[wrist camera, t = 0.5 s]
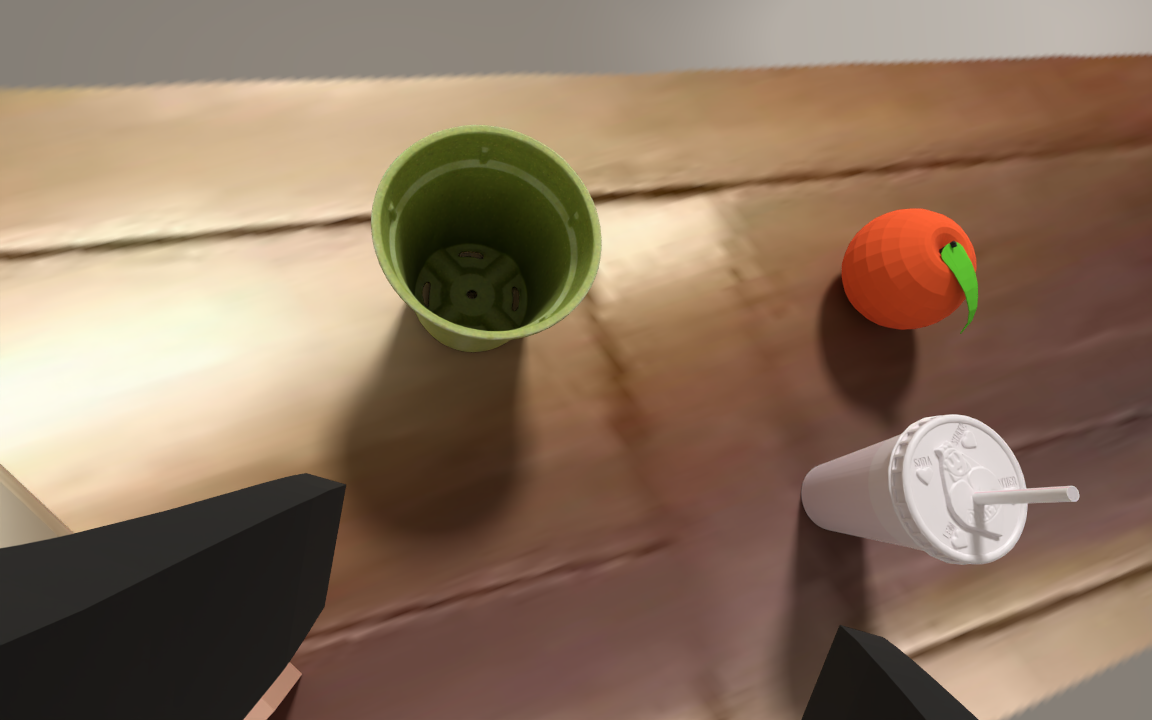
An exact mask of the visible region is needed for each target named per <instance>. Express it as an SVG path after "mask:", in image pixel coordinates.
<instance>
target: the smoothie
mask: <svg viewBox="0 0 1152 720" xmlns="http://www.w3.org/2000/svg"><path fill="white" fill-rule="evenodd" d="M801 497H802V503H803V506H804V509H805V511H806V513H807V515H808V516H809V518H810V519H811V520H812V521H813V522H814V523H815V524H816V525H818V526H819V527H821V528H823V529H826V530H830V531H835V532H840V533H844V534H849V535H854V536H858V537H863V538H868V539H872V540H877V541H882V542H886V543H891V544H896V545H900V546H905V547H910V548H913V549H918V550H923V551H925V552H926V553H928V554H929V555H930V556H932V557H934V558H937V559H939V560H942V561H944V562H946V563H952V564H962V565H965V564H985V563H989V562H993V561H995V560H997V559H999V558H1001V557H1003V556H1004V555H1005V554H1007V553H1008V552H1009V551H1010V550H1011V549H1012V548H1013V547H1014V545H1015V544H1016V543H1017V541H1018V539H1019V538H1020V536H1021V533H1022V531H1023V528H1024V525H1025V521H1026V516H1027V506H1028V503H1048V502H1074V501H1077V500H1078V499H1079V492H1078V490H1077V489H1076V488H1075V487H1074V486H1062V487H1046V488H1030V489H1026V485H1025V480H1024V476H1023V473H1022V471H1021V468H1020V466H1019V463H1018V461H1017V459H1016V458H1015V456H1014V454H1013V452H1012V451H1011V449H1010V448H1009V447H1008V445H1007V444H1006V443H1005V441H1004V440H1003V439H1002V438H1001V437H1000V436H999V435H998V434H997V433H996V432H995V431H994V430H992V429H991V428H990V427H988V426H987V425H985V424H984V423H982V422H980V421H978V420H976V419H973V418H971V417H967V416H963V415H944V416H933V417H927V418H923V419H921V420H919V421H917V422H915V423H913V424H911V425H910V426H909V427H908V428H907V429H906V430H905V431H904V432H903V433H902V434H901V435H898V436H895V437H893V438H890V439H888V440H885V441H882V442H880V443H877V444H874V445H872V446H869V447H866V448H864V449H861V450H858V451H856V452H853V453H851V454H848V455H845V456H843V457H840V458H837V459H835V460H832V461H829V462H827V463H824V464H821V465H819V466H816V467H815V468H813V469H812V470H810V472H809V473H808V474H807V475H806V477H805V479H804V481H803V484H802V490H801Z"/></svg>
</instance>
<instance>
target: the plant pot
mask: <svg viewBox="0 0 1152 720" xmlns="http://www.w3.org/2000/svg"><path fill="white" fill-rule="evenodd" d="M371 230H372V239H373V244H374V248H375V252H376V255H377V258H378V261H379V264H380V266H381V268H382V270H383V272H384V274H385V276H386V278H387V280H388V281H389V283H390V284H391V286H392V287H393V289H394V290H395V291H396V293H397V294H398V295H399V296H400V298H401V299H402V300H403V301H404V302H405V303H406V304H407V305H408V306H409V307H410V308H411V309H412V310H414V311H415V312H416V314H417V317H418V319H419V321H420V322H421V324H422V325H423V326H424V328H425V329H426V330H427V331H428V332H429V333H430V334H431V335H432V336H433V337H434V338H435V339H437V340H438V341H439V342H440V343H442V344H444V345H446V346H448V347H450V348H453V349H457V350H460V351H466V352H480V351H487V350H491V349H494V348H497V347H499V346H501V345H503V344H505V343H506V342H508V341H509V340H512V339H519V338H523V337H527V336H531V335H534V334H537V333H539V332H541V331H543V330H546V329H548V328H550V327H552V326H553V325H555V324H556V323H558V322H559V321H561V320H562V319H564V318H565V317H566V316H567V315H569V314H570V313H571V312H572V311H573V310H574V309H575V308H576V307H577V306H578V305H579V304H580V302H581V301H582V300H583V299H584V297H585V296H586V294H587V293H588V291H589V290H590V288H591V286H592V284H593V282H594V279H595V277H596V274H597V271H598V268H599V263H600V257H601V230H600V223H599V218H598V214H597V211H596V208H595V205H594V203H593V200H592V198H591V196H590V194H589V192H588V190H587V188H586V186H585V185H584V183H583V182H582V180H581V179H580V177H579V176H578V175H577V174H576V172H575V171H574V170H573V169H572V168H571V167H570V165H569V164H568V163H567V162H566V161H565V160H564V159H563V158H562V157H560V156H559V155H558V154H557V153H556V152H554V151H553V150H552V149H550V148H549V147H547V146H546V145H544V144H543V143H541V142H539V141H537V140H535V139H533V138H531V137H529V136H527V135H524V134H522V133H519V132H517V131H513V130H510V129H507V128H502V127H495V126H486V125H467V126H459V127H454V128H450V129H446V130H442V131H439V132H436V133H433V134H431V135H429V136H427V137H425V138H423V139H421V140H419V141H418V142H416V143H414V144H413V145H412V146H410V147H409V148H408V149H406V150H405V151H404V152H403V153H402V154H401V155H400V156H399V157H397V158H396V160H395V161H394V162H393V163H392V164H391V165H390V167H389V168H388V169H387V171H386V172H385V174H384V176H383V178H382V180H381V182H380V184H379V186H378V189H377V191H376V195H375V198H374V202H373V207H372V215H371ZM465 251H472V252H479V253H481V254H482V255H483V256H484V258H483V259H479V258H474V257H459V254H460V253H461V252H465ZM426 282H430V284H431V287H430V292H429V307H427V306H426V305H425V304H424V300H423V296H422V291H423V286H424V284H425V283H426ZM513 287H516V288H517V289H518V291H519V295H520V296H519V307H518V309H517V310H516V311H513V310H512V302H513V293H512V288H513ZM470 290H474V291H476V292H477V296H476V298H474V299H472V298H471V299H470V298H469V297H468V296H467V292H468V291H470Z"/></svg>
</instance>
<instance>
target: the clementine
mask: <svg viewBox="0 0 1152 720" xmlns="http://www.w3.org/2000/svg"><path fill="white" fill-rule="evenodd" d="M975 273H976V256H975V252H974V248H973V246H972V244H971V242H970V240H969V238H968V236H967V235H966V233H965V232H964V231H963V230H962V228H961V227H960V226H959V225H958V224H956V223H955V222H954V221H953V220H951V219H950V218H948V217H946V216H944V215H942V214H939V213H935V212H932V211H928V210H925V209H901V210H896V211H893V212H889V213H886V214H884V215H882V216H880V217H877V218H875V219H874V220H872V221H871V222H870V223H868V224H867V225H865V226H864V227H863V228H862V229H861V230H860V231H859V232H858V233H857V234H856V235H855V237H854V238H853V239H852V241H851V242H850V244H849V246H848V248H847V250H846V252H845V256H844V259H843V262H842V281H843V286H844V291H845V293H846V295H847V297H848V299H849V301H850V302H851V304H852V305H853V306H854V308H855V309H856V310H857V311H858V312H860V313H861V314H862V315H863V316H864V317H866V318H867V319H868V320H870V321H872V322H874V323H876V324H878V325H880V326H884V327H888V328H894V329H900V330H905V329H917V328H921V327H926V326H929V325H931V324H934V323H937V322H939V321H940V320H942V319H944V318H945V317H947V316H949V315H950V314H951V313H952V312H954V311H955V310H956V309H957V308H958V307H959V306H960V305H961V303H962V302H963V301H964V300H965V299H966V300H967V304H968V309H969V315H968V323H967V324H966V326H965V327H964V328H963V330H962V331H961V333H962V332H963V331H964V329H965V328H966V327H967V326H968V325H969V324H970V322H971V321H972V319H973V317H974V314H975V311H976V309H977V301H978V284H977V279H976V274H975ZM961 333H960V334H961Z"/></svg>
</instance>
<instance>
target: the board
mask: <svg viewBox="0 0 1152 720" xmlns="http://www.w3.org/2000/svg"><path fill="white" fill-rule="evenodd" d="M70 534H74V533H73V532H72V531H71V530H70V529H69V528H68V527H67V526H66V525H64V524H63V523H62V522H61V521H60V520H59V519H58V518H57V517H56V516H55V515H54V514H53V513H52V512H51V511H50V510H49V509H48V508H46V507H45V506H44V505H43V504H42V503H41V502H40V501H39V500H38V499H37V498H36V497H35V496H34V495H33V494H32V493H31V492H29V491H28V490H27V489H26V488H25V487H24V486H23V485H22V484H21V483H20V482H19V481H18V480H17V479H16V478H15V477H14V476H13V475H11V474H10V473H9V472H8V471H7V470H6V469H5V468H4V467H3V466H2V465H1V464H0V548H5V547H11V546H16V545H22V544H27V543H32V542H37V541H42V540H46V539H51V538H56V537H61V536H65V535H70Z"/></svg>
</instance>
